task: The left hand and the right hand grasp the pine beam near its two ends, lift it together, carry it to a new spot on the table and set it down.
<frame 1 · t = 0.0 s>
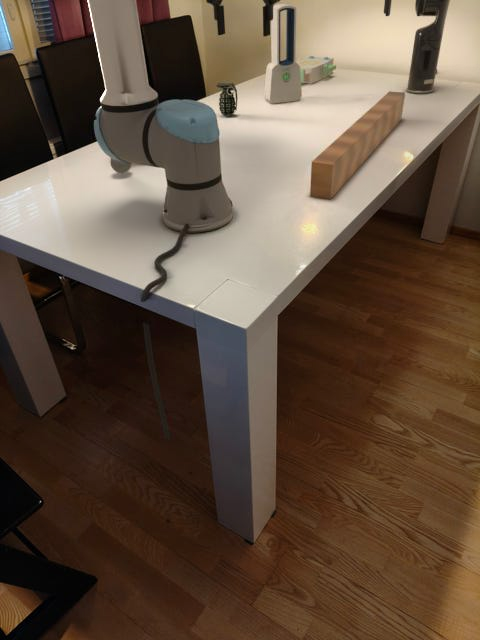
left hand: (243, 35, 129), 28 cm above the table, tool pointing down, fingers open, 13 cm apart
right hand: (402, 15, 135), 29 cm above the table, tool pointing down, fingers open, 8 cm apart
electronic device: (282, 100, 182), on the table
grenade: (228, 115, 169), on the table
beam: (362, 151, 135), on the table
molecular model: (146, 158, 139), on the table
decorative block: (306, 78, 209), on the table
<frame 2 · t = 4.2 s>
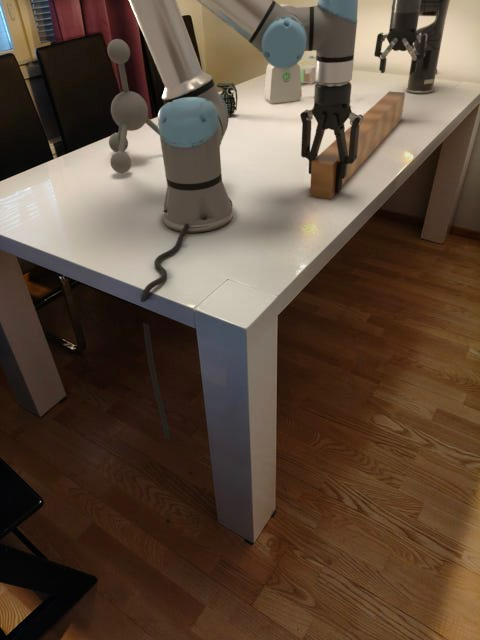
left hand: (326, 188, 115), 1 cm above the table, tool pointing down, fingers closed on beam, 5 cm apart
right hand: (396, 73, 146), 14 cm above the table, tool pointing down, fingers open, 8 cm apart
beam: (362, 151, 135), on the table, touching left hand
everything else where it was.
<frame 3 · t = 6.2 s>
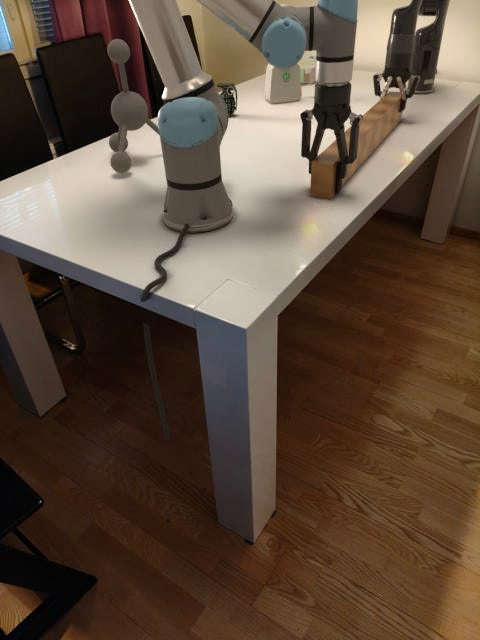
left hand: (326, 188, 115), 1 cm above the table, tool pointing down, fingers closed on beam, 5 cm apart
right hand: (391, 110, 153), 4 cm above the table, tool pointing down, fingers closed on beam, 5 cm apart
beam: (362, 151, 135), on the table, touching left hand, right hand
everything else where it was.
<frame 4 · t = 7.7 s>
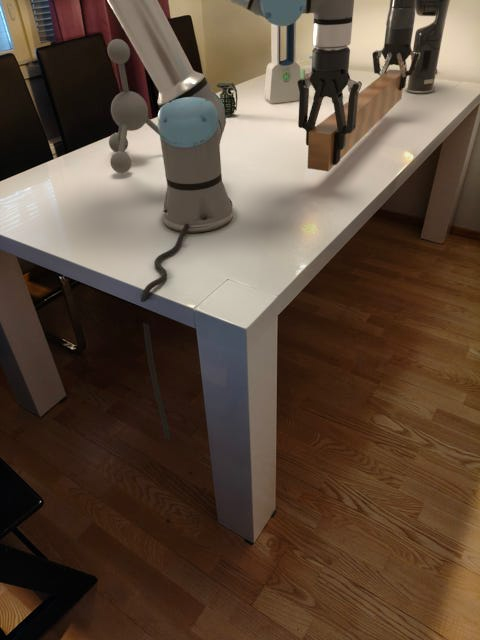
left hand: (324, 161, 112), 7 cm above the table, tool pointing down, fingers closed on beam, 5 cm apart
right hand: (391, 89, 150), 10 cm above the table, tool pointing down, fingers closed on beam, 5 cm apart
beam: (361, 127, 132), point 6 cm above the table, touching left hand, right hand
everything else where it was.
when the left hand's fingers open (2 cm above the table, at t = 11.0 s): beam stays where it is, on the table.
when the right hand's fingers open (4 cm above the table, at t = 11.2 s): beam stays where it is, on the table.
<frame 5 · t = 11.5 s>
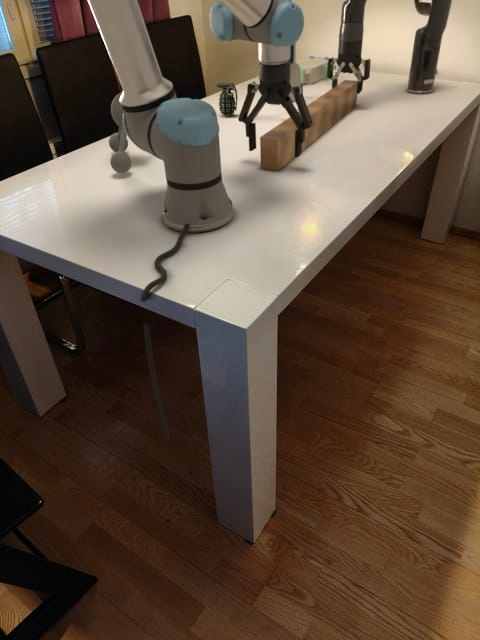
left hand: (274, 152, 128), 3 cm above the table, tool pointing down, fingers open, 12 cm apart
right hand: (346, 92, 166), 5 cm above the table, tool pointing down, fingers open, 8 cm apart
beam: (315, 132, 150), on the table
everything else where it was.
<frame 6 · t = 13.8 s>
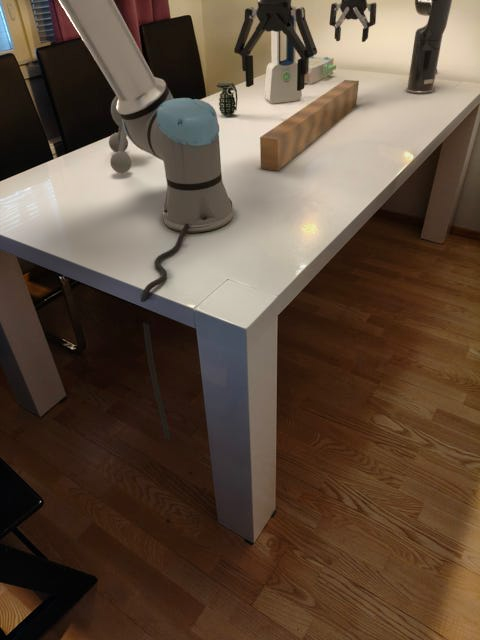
left hand: (274, 87, 118), 19 cm above the table, tool pointing down, fingers open, 13 cm apart
right hand: (350, 41, 157), 21 cm above the table, tool pointing down, fingers open, 8 cm apart
nothing on the table moved.
at the end: beam inside the target area (0.4 cm from its centre), on the table; beam tilted 0°; beam never tilted more than 1° during the clip; both hands held the beam at the same time; the left hand is holding nothing; the right hand is holding nothing; beam at rest at the end (0.0 cm/s) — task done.
